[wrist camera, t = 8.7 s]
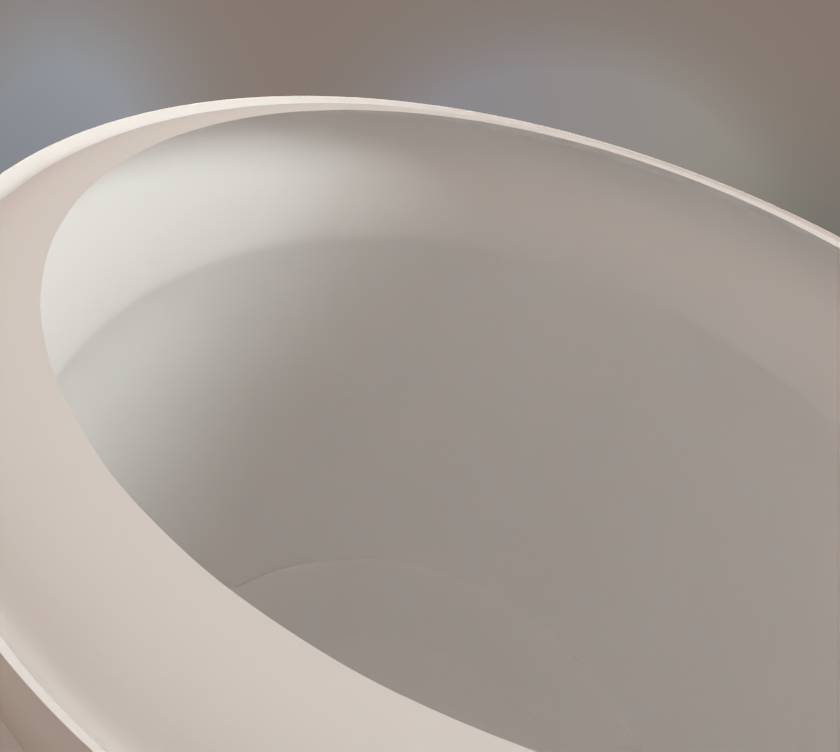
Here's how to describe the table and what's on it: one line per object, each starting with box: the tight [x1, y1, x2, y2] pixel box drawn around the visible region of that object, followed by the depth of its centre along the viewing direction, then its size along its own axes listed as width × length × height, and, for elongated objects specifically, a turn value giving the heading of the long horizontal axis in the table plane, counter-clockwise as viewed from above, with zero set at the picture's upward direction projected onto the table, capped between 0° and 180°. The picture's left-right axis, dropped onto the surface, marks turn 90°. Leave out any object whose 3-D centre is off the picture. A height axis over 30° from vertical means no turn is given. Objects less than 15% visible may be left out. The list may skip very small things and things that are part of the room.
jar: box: [0, 96, 840, 752], centre depth 11 cm, size 11×10×15 cm
